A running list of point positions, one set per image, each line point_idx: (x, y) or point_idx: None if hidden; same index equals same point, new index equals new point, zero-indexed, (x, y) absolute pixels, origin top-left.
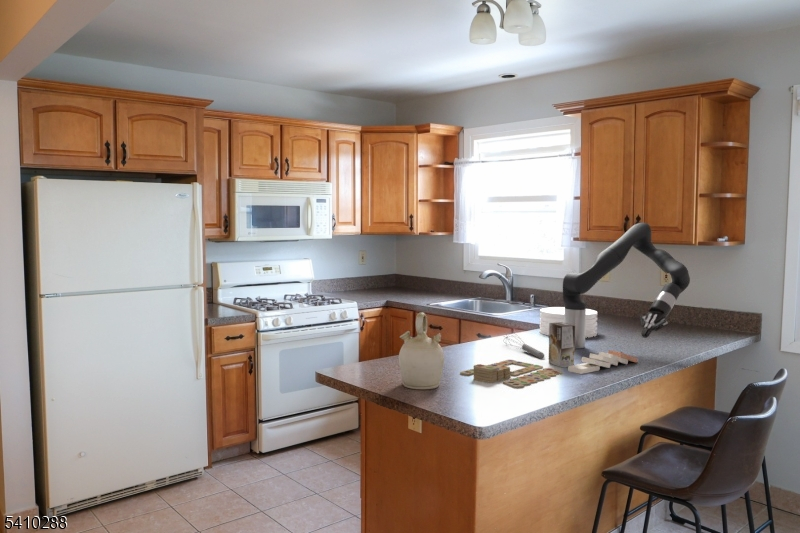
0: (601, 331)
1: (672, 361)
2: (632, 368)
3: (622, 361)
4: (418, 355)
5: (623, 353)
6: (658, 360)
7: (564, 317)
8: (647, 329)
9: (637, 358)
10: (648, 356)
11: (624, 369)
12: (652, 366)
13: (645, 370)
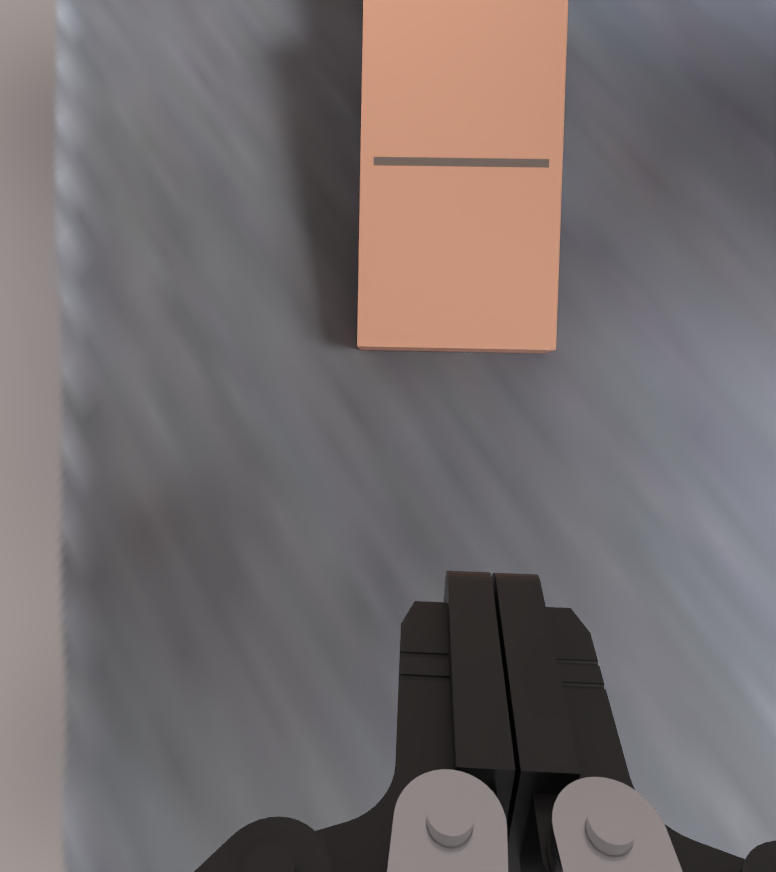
0: None
1: (113, 840)
2: (233, 92)
3: None
4: None
5: (363, 8)
6: (272, 723)
7: None
8: (459, 720)
9: (357, 339)
10: None
11: (259, 2)
12: (144, 335)
13: (101, 121)
